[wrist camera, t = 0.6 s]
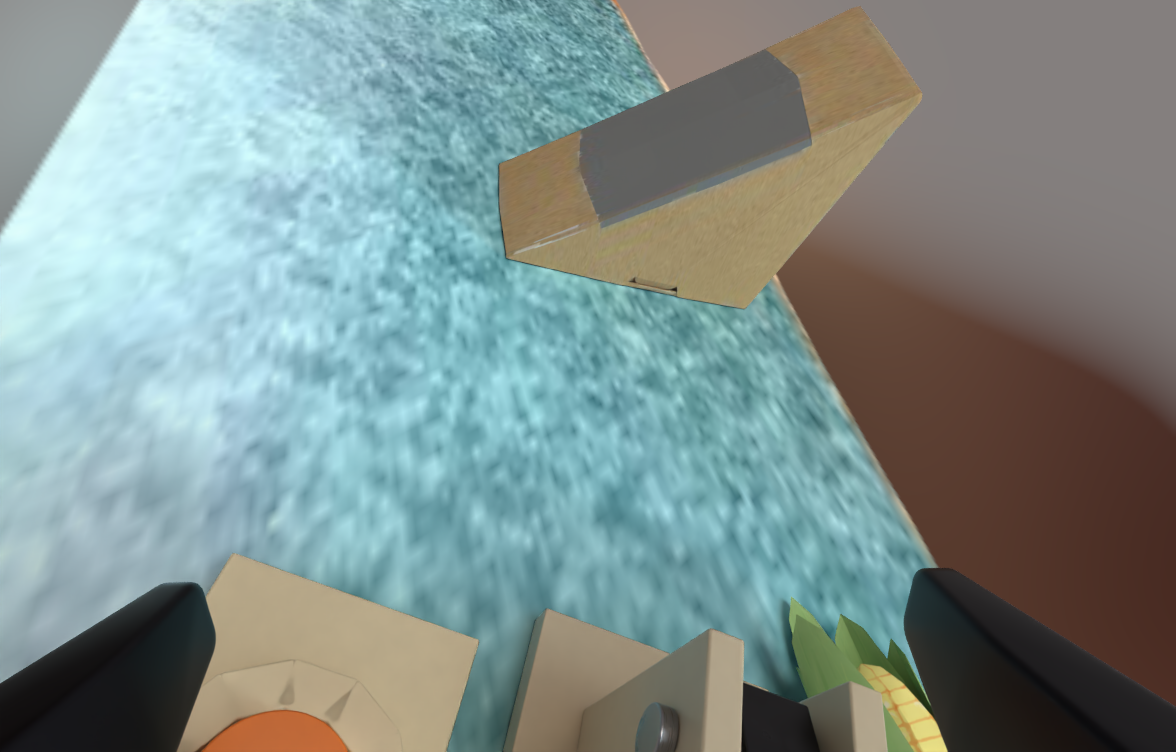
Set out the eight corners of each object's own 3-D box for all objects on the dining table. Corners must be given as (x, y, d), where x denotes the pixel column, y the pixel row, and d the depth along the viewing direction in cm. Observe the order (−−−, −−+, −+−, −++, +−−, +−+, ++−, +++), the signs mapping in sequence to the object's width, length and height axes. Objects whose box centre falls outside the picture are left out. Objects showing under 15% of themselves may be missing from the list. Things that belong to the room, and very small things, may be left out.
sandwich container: (495, 160, 41) (593, -118, 30) (714, 218, 47) (860, 2, 36) (502, 260, 36) (623, -32, 25) (747, 312, 42) (929, 92, 31)
